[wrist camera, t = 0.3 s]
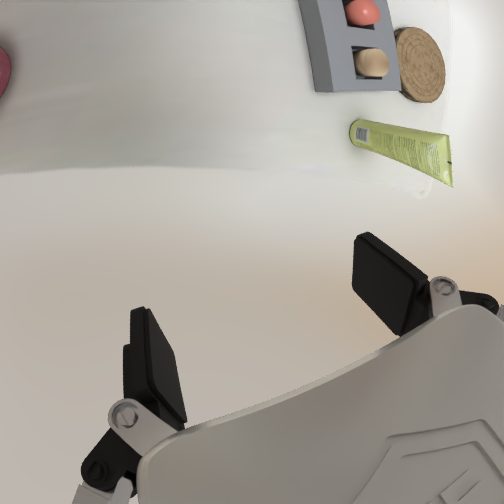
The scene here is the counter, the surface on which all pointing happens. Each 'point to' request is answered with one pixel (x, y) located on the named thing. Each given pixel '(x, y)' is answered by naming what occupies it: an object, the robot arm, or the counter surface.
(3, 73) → the plant pot
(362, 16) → the knob red
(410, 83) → the wood log slice
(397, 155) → the tube
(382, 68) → the knob
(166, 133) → the counter surface
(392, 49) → the knob panel
